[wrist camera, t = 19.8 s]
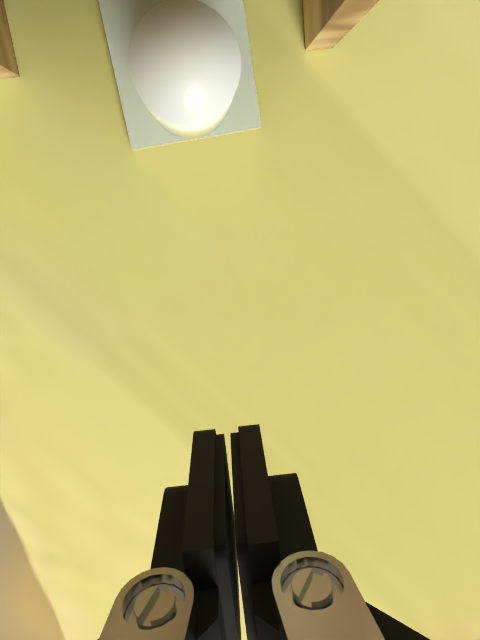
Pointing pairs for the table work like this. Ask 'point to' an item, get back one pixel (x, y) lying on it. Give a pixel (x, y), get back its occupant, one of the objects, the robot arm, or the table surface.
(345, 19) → the wooden bridge
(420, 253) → the table surface
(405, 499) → the table surface
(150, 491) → the table surface
